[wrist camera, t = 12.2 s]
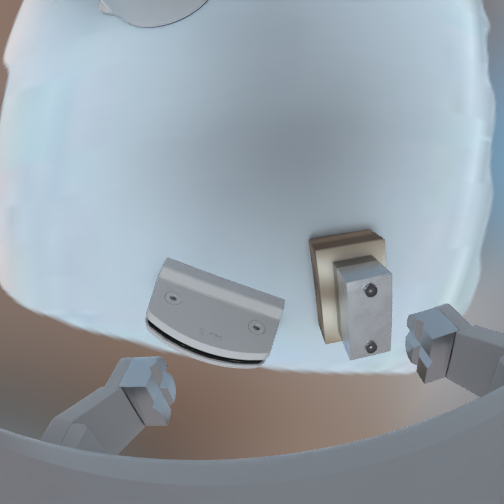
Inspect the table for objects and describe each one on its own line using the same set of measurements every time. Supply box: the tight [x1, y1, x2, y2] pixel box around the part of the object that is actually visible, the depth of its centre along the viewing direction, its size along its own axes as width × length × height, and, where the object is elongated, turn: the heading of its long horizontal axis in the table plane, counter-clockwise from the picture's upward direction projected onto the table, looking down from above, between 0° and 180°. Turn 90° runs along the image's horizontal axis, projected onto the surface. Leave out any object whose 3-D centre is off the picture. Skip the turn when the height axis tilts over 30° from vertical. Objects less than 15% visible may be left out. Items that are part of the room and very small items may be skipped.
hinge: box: [146, 258, 284, 368], centre depth 37 cm, size 17×5×10 cm, turn 69°
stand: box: [309, 230, 386, 344], centre depth 36 cm, size 12×8×5 cm, turn 10°
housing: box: [332, 255, 392, 360], centre depth 31 cm, size 9×5×6 cm, turn 10°
